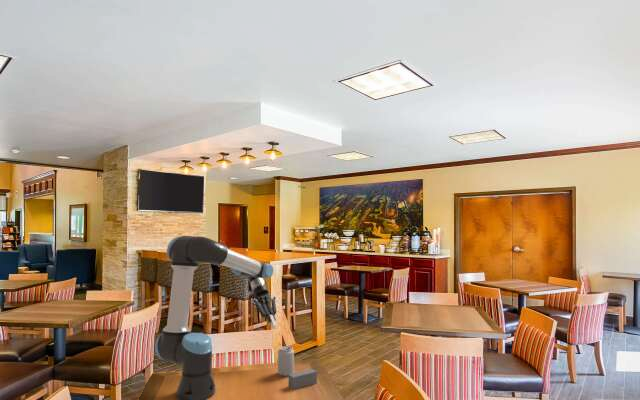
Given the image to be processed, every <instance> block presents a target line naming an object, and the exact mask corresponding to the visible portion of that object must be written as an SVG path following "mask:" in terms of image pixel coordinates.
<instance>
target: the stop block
mask: <svg viewBox="0 0 640 400" xmlns="http://www.w3.org/2000/svg"><path fill="white" fill-rule="evenodd" d="M315 383H316V384H318V371H317V370H315V369H313V368H310V369H305V370H301V371H297V372H294V373H293V374H289V376H288V387H289V388H290V389H292V390H296V389H300V388H305V387H308V386H311V384H312V385H315Z"/></svg>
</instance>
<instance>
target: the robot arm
mask: <svg viewBox="0 0 640 400" xmlns="http://www.w3.org/2000/svg"><path fill="white" fill-rule="evenodd" d="M166 256H167V257H168V259H169V260H170V267H171V268H172V269H173V274H172V280H171V290H170V297H169V305H168V313H167V321H166V322H167V323H166V325H165V327H163V328H162V332H161V334H159V335H158V337H157V338H156V340H155V343H154V351H155V354H156V356H157V357H158V358H159V359H160V360H162V361H165V362H167V363H172V364H175V365H180V366H181V378H180V381H179V384H178V387H177V390H176V397H177V399H178V400H206V399H209V398H211V397H212V396H213V395H215V394H216V383H215V380H214V377H213V374H212V361H213V360H212V359H213V358H212V356H213V355H212V354H213V345H212V339H211V337H210V336H209V335H208V334H205V333H203V332H192V330H191V328H190V326H188V325H189V317H190V316H189V315H190V307H191V300H192V291H193V283H194V281H193V280H194V272H195V271H196V269H197V268H199V264H210V265H214V266H225V267H227V268H230V269H231V271H232V273H233V274H235V275H236V276H240V277H242V278H245V279H246V280H248V281H249V286H250V287H251V290H252V293H253V295H254V299H253V301H252V305H253V306H255V308H256V310H257V311H258V313H259V315H261V317H262V318H264V319H266V320H267V322H268V323H269V324H270V327H271V330H273V329H274V330H275V329H276V327H277V323H276V317H275V316H276V314H277V305H276V296H271V294H270V292H269V289H268V287H267V284H266V282H265V279H271V278H272V277H273V275H274V266H273V265H272V264H270V263H267V262H266V263H264V262H261V261H259V260H256V259H254V258H251V257H249V256H247V255H244V254H241V253H239V252H236V251H234V250H233V249H229V248H228V246H226V245H225V244H224V243H220V242H219V241H216V240H213V239H211V238H209V237H205V236H202V235H200V236H194V235H181V236H176V237H174V238H173V239H172V240H170V242H169V243H168V246H167V248H166Z"/></svg>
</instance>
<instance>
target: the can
mask: <svg viewBox="0 0 640 400" xmlns="http://www.w3.org/2000/svg"><path fill="white" fill-rule="evenodd" d="M293 373H295V350H294V349H293V346H290V345H283V346H280V347H279V349H278V351H277V374H279V375H280V376H281V377H289V374H293Z"/></svg>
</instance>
